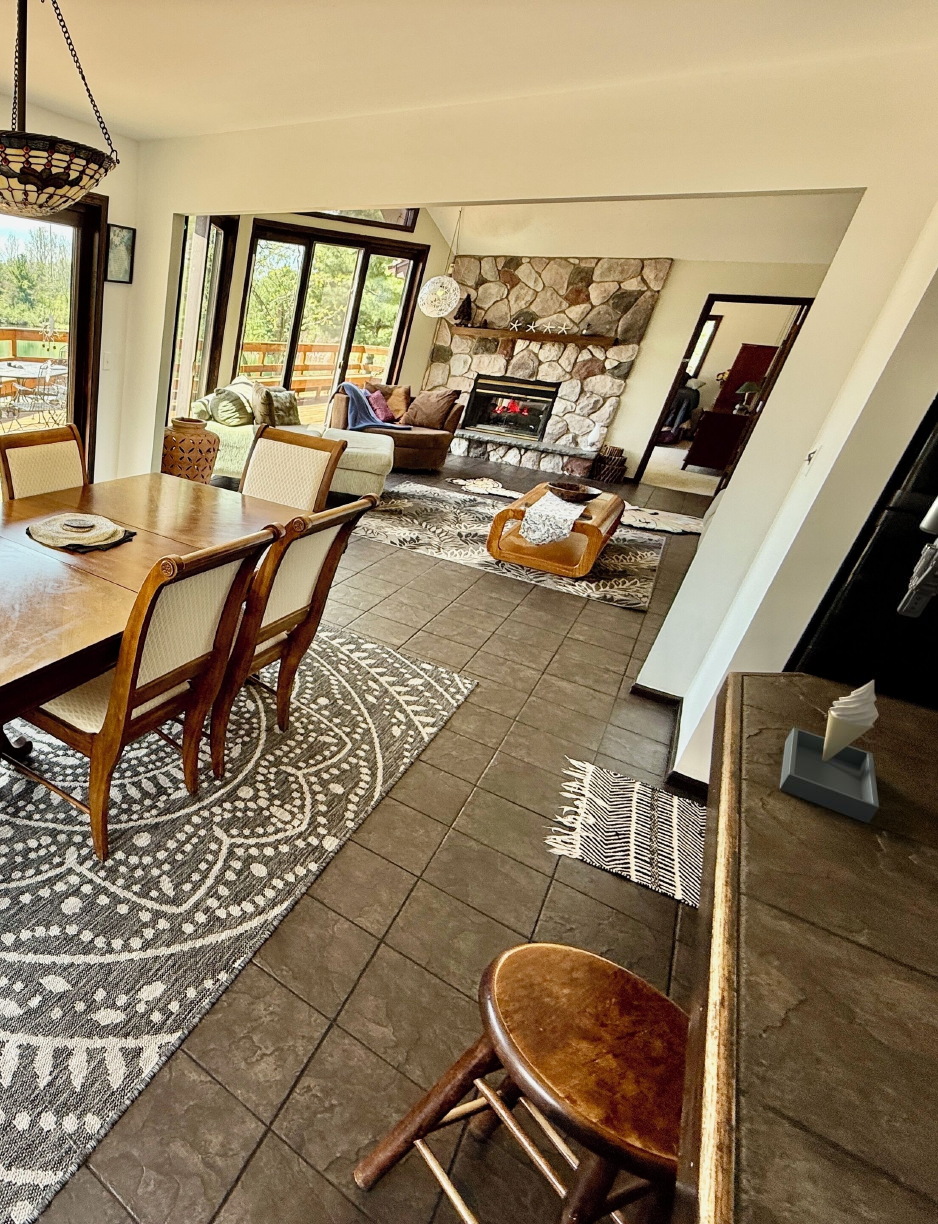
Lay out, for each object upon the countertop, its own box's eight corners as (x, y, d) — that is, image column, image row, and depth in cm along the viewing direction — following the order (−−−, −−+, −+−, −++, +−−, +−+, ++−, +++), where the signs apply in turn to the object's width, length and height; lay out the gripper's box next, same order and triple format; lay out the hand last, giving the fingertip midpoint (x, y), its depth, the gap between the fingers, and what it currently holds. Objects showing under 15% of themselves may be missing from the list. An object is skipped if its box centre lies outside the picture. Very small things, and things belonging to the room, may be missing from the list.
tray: (785, 741, 108) (793, 727, 107) (862, 768, 102) (872, 753, 101) (779, 789, 95) (788, 773, 94) (868, 823, 89) (879, 807, 88)
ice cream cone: (815, 749, 105) (864, 671, 99) (854, 768, 101) (907, 687, 95) (794, 752, 104) (842, 672, 98) (832, 771, 100) (885, 689, 94)
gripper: (1028, 516, 84) (949, 634, 90) (1009, 505, 92) (938, 613, 99) (941, 503, 88) (873, 616, 95) (931, 493, 97) (869, 597, 104)
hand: (906, 614), depth 97 cm, fingers closed
